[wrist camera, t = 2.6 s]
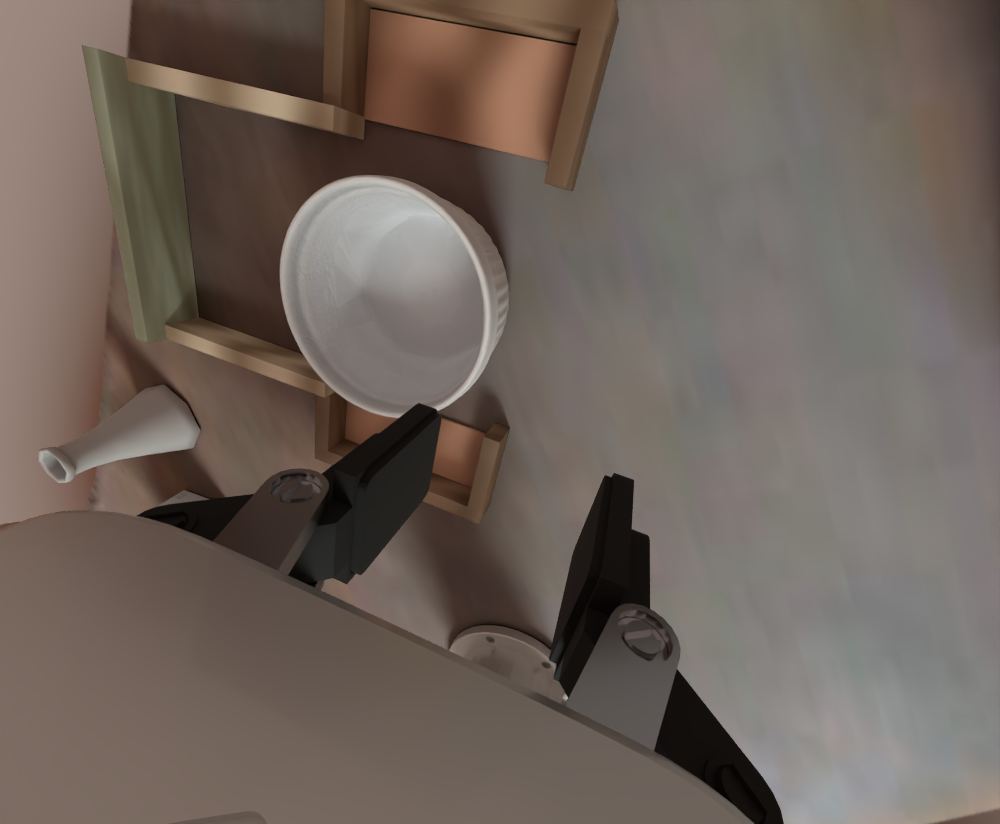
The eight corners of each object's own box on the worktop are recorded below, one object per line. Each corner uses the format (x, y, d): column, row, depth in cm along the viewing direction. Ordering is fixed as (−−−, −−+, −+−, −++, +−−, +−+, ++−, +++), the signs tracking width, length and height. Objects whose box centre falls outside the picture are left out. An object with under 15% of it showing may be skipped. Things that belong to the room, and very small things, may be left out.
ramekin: (468, 415, 33) (427, 460, 26) (328, 319, 33) (256, 340, 27) (564, 258, 26) (539, 269, 20) (388, 140, 26) (311, 116, 20)
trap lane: (618, 20, 21) (611, -27, 17) (488, 506, 35) (468, 541, 31) (142, -59, 26) (53, -109, 22) (197, 391, 40) (148, 409, 37)
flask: (164, 371, 41) (34, 411, 32) (213, 433, 42) (100, 488, 34) (133, 401, 44) (6, 445, 35) (179, 458, 46) (68, 514, 37)
